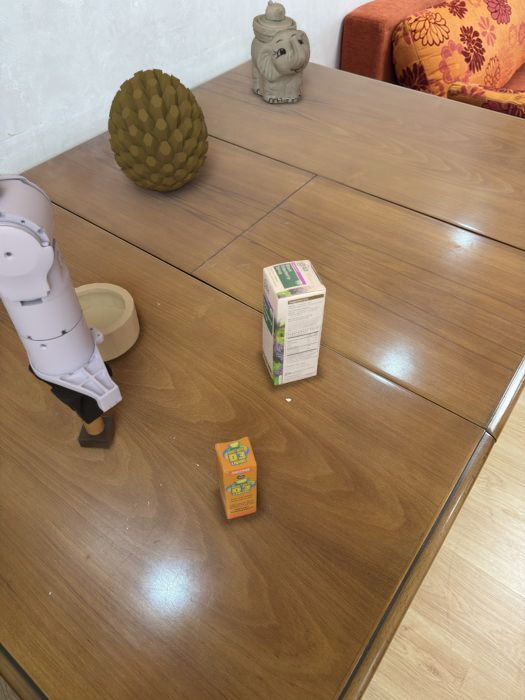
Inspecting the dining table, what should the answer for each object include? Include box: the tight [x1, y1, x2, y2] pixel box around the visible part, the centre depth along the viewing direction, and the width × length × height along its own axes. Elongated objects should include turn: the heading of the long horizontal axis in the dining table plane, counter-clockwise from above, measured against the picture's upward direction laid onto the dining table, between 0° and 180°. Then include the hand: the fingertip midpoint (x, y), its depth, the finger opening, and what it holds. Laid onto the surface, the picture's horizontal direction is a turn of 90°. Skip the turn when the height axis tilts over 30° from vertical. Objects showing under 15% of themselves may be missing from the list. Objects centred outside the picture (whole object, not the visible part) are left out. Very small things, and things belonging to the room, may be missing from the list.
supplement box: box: [214, 436, 258, 520], centre depth 52 cm, size 3×3×10 cm
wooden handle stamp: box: [77, 415, 117, 449], centre depth 57 cm, size 3×3×9 cm
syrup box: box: [261, 259, 327, 386], centre depth 63 cm, size 6×6×14 cm
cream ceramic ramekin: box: [74, 282, 140, 362], centre depth 71 cm, size 11×11×4 cm
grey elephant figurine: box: [250, 0, 311, 104], centre depth 120 cm, size 16×15×19 cm
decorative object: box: [107, 68, 209, 193], centre depth 92 cm, size 17×17×20 cm
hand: (87, 410), depth 57 cm, fingers closed on wooden handle stamp, 2 cm apart
